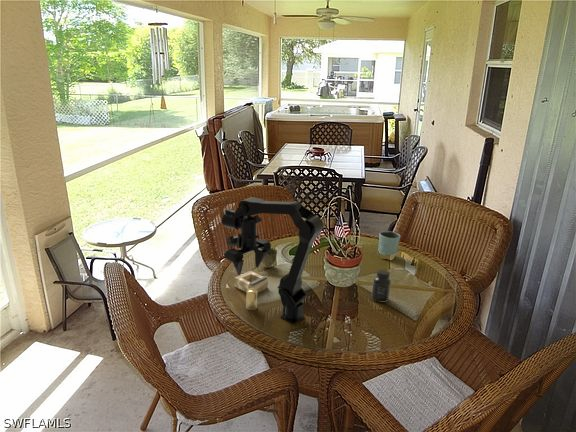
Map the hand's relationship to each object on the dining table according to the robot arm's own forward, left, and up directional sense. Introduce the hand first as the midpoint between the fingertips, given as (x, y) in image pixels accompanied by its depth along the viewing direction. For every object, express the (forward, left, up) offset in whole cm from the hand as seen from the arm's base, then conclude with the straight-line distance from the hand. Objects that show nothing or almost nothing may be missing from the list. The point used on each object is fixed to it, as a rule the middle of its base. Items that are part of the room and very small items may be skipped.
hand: (248, 271), depth 157 cm
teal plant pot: (-18, -80, -13) cm, 83 cm away
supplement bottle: (-36, -39, -13) cm, 55 cm away
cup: (+14, -27, -13) cm, 33 cm away
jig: (+6, -8, -12) cm, 16 cm away
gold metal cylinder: (-5, +3, -12) cm, 14 cm away
